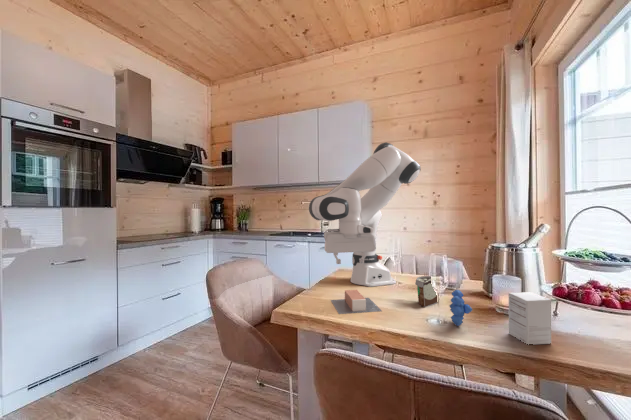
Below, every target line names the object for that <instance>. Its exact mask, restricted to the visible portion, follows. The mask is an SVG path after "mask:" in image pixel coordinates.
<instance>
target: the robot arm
mask: <svg viewBox="0 0 631 420" xmlns="http://www.w3.org/2000/svg"><path fill="white" fill-rule="evenodd" d="M420 172H421V165H420V164H419V163H418V162H417V160H414V159H413V158H412V157H411V156H410V155H409V154H408V153H406V152H404V151H403V150H401V149H399V148H398V147H396V146H395V145H393V144H392V143H390V142H381V143H380V144H379V145H378V146H377V147H376V148H375V150H373V154H372V155H370V156H369V157H368V158H366V159H365V160H363V162H362V163H361V164H360V165H359V166H358V167H357V168H356V169H355V170H354V171H353V172H352V173H350V175H348V177H347V178H346V179H344V180H343V181H342V182H340V183H339V184H338V185H337V186H335V187H334V188H332V190H330V191H329V192H327V193H325V194H324V195H323V194H322V195H319V196H316V197H314V198H312V199H311V200H310V202H309V204H308V211H309V215H310V216H311V217H312V219H314V220H317V221H327V222H333V221H337V220H338V228H328V229H327V230H325V231H324V232H323V239H324V240H325V241H324V251H325V252H326V253H327V254H333V257H334V259H335V263H336V265H341V264H342V259H341V258H338V255H339V253H352V256H351V257H352V260H351V261H352V262H351V263H352V270H351V271H352V273H351V277H350V282H351V283H352V284H354V285H359V286H365V287H369V288H370V287H378V286H387V285H394V284H396V279H395V278H394V277H392V274H391V271H390V269H389V267H387V266H385V264H383V263H382V262H380V261H381V260H383V256H382V255H379V254H377V253H376V249H377V243H376V242H377V241H376V238H377V237H376V236H377V232H378V227H379V223H380V222H381V221H382V217H383V215H382V211H381V210H382V209H383V208H384V207H386V206H387V205H388V204H389V202H390V201H391V200H392V198H393V197H394V196H395V195H396V193H398V190H399V189H400V187H401V186H402V184H407V185H408V184H410V183H412V182H413V181H415V180H416V179H417V178H418V176H419V175H420ZM365 190H368V191H367V192H366V193H365V194H364V195H363V196H361V193H360V192H361V191H365Z"/></svg>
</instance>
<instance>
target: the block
mask: <svg viewBox="0 0 631 420" xmlns="http://www.w3.org/2000/svg"><path fill="white" fill-rule="evenodd" d="M365 298H366V297H364V295H362V294H361V293H360V291H359V290H358V289H345V290H344V299H345V301H346V303H347V304H348V305H349V307H350V308H351V310H352V311H365V310H366V299H365Z"/></svg>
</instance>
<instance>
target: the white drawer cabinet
mask: <svg viewBox="0 0 631 420" xmlns="http://www.w3.org/2000/svg"><path fill="white" fill-rule="evenodd" d="M508 334H509V335H511V336H513V337H514V338H515V337H516V339H517V340H519V341H520V340H521V341H520V342H521V343H523V342H524V344H525V343H526V344H525V345H527V344H528V345H527V346H529V344H533V345H550V343H551V344H552V300H551V299H550V298H548V297H545V296H543V295H539V294H537V293H535V292H531V291H526V292H525V291H523V292H508Z"/></svg>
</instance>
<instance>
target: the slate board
mask: <svg viewBox="0 0 631 420" xmlns="http://www.w3.org/2000/svg"><path fill="white" fill-rule="evenodd" d="M364 298H365V299H366V310H365V311H352V310H351V308H350V307H349V305H348V304H347V303H346V301H345V298H340V299H330V302H331V303H332V305H333V306H334V308H335V310H336V311H337V314H339V315H347V314H349V315H350V314H361V313H376V312H377V313H378V312H383V310H382V309H381V308H380V307H379V306H378V305H377V304H376V303H374V301H373V300H372V299H371V298H370V297H364Z"/></svg>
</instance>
